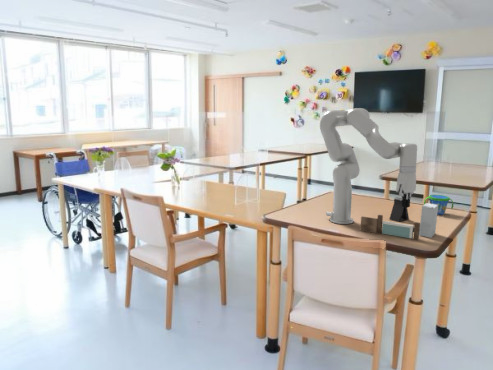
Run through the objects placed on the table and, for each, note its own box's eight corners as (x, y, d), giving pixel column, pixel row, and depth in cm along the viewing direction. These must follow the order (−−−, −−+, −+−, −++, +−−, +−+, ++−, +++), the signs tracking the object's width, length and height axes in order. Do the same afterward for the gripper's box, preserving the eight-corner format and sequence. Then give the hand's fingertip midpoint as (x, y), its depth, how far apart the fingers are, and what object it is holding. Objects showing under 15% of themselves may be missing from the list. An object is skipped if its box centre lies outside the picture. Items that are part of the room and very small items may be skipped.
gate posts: (360, 230, 209) (360, 213, 207) (362, 229, 212) (363, 211, 210) (417, 240, 193) (419, 221, 192) (419, 238, 196) (420, 220, 195)
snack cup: (452, 212, 243) (453, 195, 241) (453, 217, 234) (454, 199, 232) (423, 210, 249) (424, 193, 248) (423, 214, 240) (424, 197, 238)
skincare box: (423, 231, 207) (425, 202, 204) (436, 233, 204) (438, 204, 201) (418, 235, 200) (421, 205, 198) (432, 238, 197) (434, 207, 194)
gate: (381, 233, 203) (382, 221, 202) (382, 232, 205) (383, 220, 203) (412, 238, 195) (413, 226, 194) (413, 237, 197) (414, 225, 195)
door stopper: (398, 222, 224) (399, 200, 222) (389, 219, 229) (390, 198, 227) (409, 219, 229) (410, 198, 227) (399, 217, 234) (401, 196, 232)
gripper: (409, 167, 206) (407, 203, 210) (391, 170, 197) (390, 207, 201) (423, 168, 201) (421, 205, 204) (405, 171, 192) (404, 210, 195)
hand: (405, 206), depth 202 cm, fingers closed
